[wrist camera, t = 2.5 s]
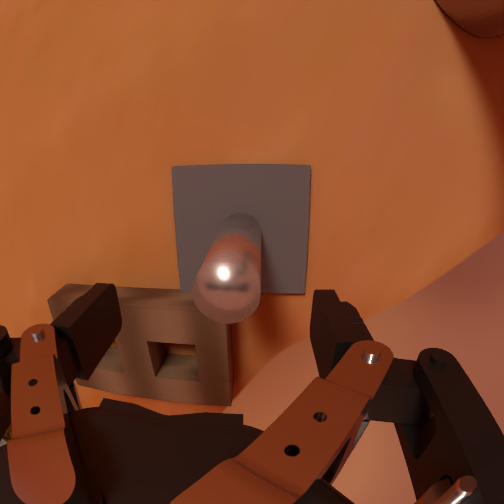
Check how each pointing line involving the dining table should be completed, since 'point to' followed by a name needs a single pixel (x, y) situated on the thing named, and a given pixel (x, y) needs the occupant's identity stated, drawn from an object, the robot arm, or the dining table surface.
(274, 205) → the mat
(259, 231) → the pin
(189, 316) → the socket block
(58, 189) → the dining table surface
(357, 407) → the robot arm
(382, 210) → the dining table surface
